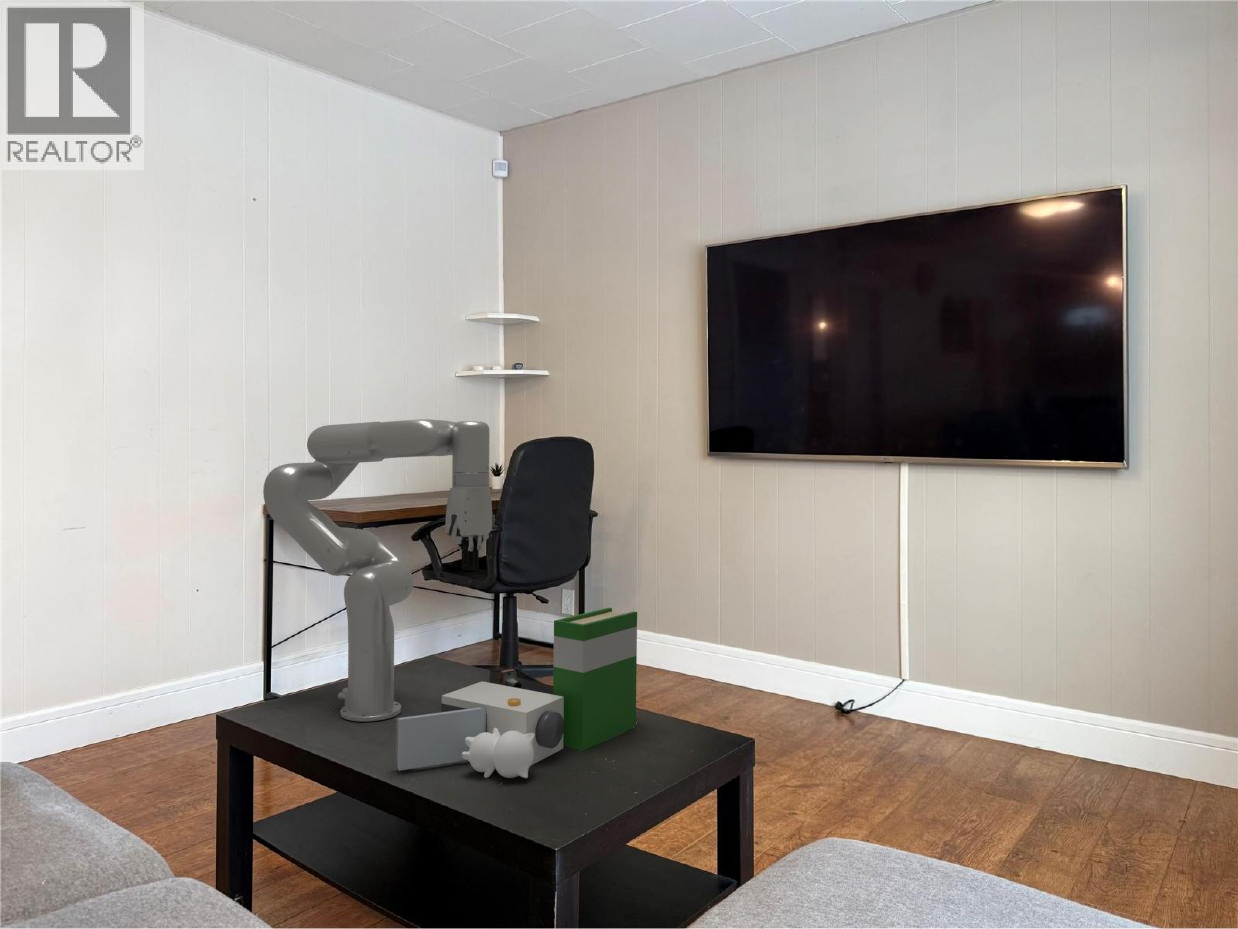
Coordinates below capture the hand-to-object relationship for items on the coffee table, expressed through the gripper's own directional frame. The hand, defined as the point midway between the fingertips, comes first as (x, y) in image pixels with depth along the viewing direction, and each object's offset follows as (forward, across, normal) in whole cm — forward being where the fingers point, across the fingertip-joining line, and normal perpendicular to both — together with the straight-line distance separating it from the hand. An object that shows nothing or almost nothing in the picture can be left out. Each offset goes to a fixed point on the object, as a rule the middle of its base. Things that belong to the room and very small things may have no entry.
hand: (470, 569), depth 183 cm
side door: (+31, +21, +11) cm, 39 cm away
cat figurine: (+32, +18, +23) cm, 44 cm away
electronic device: (+32, -16, -2) cm, 36 cm away
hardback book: (+32, -8, +26) cm, 42 cm away
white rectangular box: (+32, +8, +15) cm, 36 cm away
